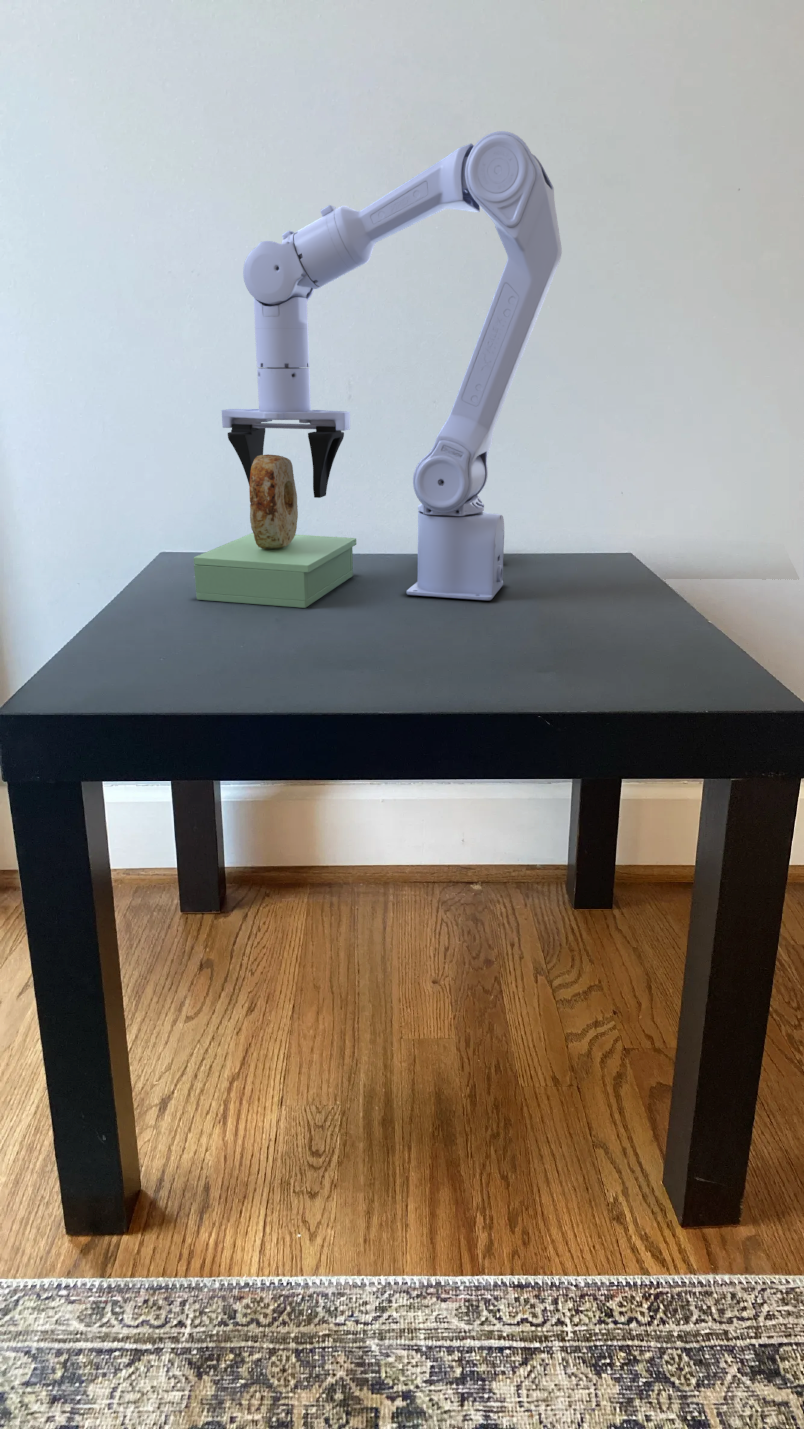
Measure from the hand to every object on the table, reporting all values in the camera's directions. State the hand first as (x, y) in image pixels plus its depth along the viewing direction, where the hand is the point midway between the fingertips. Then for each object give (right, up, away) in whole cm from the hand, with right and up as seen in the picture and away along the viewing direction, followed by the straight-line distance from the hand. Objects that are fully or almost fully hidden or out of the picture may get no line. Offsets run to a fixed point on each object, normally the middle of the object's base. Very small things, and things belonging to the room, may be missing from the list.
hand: (288, 495), depth 107 cm
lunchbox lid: (-1, -7, -1) cm, 7 cm away
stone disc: (-1, -6, -1) cm, 7 cm away
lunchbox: (-1, -11, 0) cm, 11 cm away
